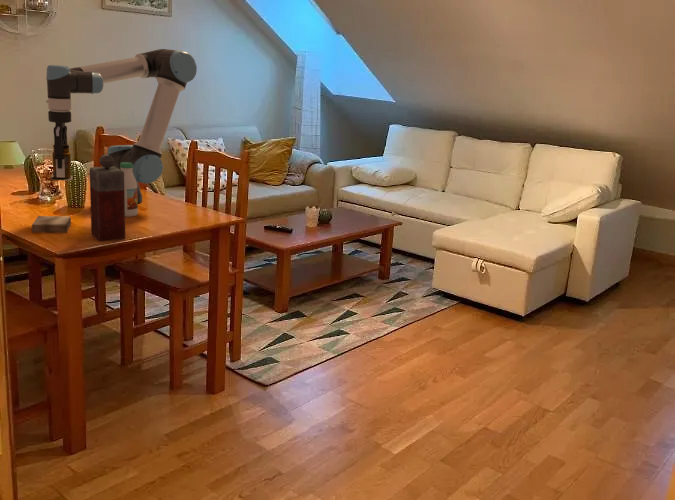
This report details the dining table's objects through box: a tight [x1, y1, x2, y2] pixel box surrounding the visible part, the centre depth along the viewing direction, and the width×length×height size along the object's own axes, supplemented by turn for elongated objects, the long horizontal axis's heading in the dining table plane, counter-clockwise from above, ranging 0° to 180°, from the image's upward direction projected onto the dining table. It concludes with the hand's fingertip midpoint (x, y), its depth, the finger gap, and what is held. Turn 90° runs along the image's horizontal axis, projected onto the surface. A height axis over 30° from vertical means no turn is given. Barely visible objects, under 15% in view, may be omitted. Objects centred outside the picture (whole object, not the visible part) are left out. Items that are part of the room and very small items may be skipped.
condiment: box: [49, 143, 74, 182], centre depth 248 cm, size 7×8×12 cm
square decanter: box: [89, 153, 126, 242], centre depth 233 cm, size 9×11×28 cm
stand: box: [31, 215, 72, 234], centre depth 241 cm, size 11×11×3 cm
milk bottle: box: [120, 162, 139, 218], centre depth 263 cm, size 8×8×20 cm
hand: (62, 175), depth 250 cm, fingers closed on condiment, 6 cm apart
